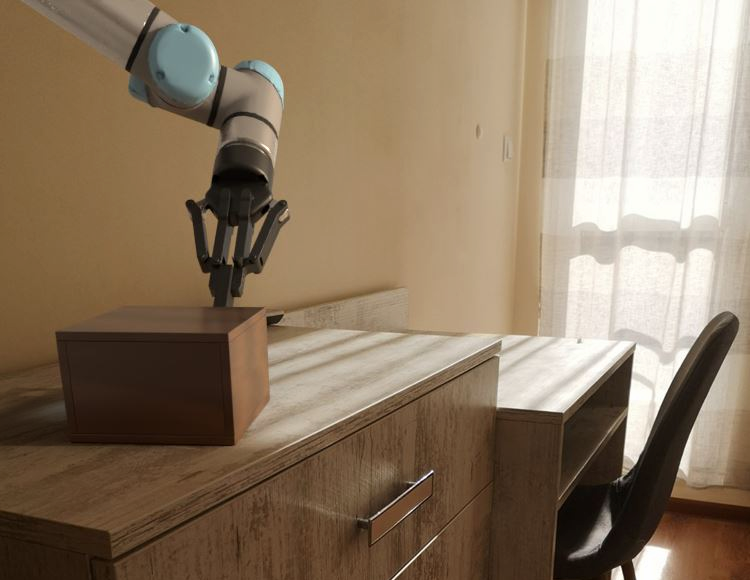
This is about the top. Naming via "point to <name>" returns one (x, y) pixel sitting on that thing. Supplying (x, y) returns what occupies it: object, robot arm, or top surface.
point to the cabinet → (165, 374)
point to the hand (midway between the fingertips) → (221, 316)
